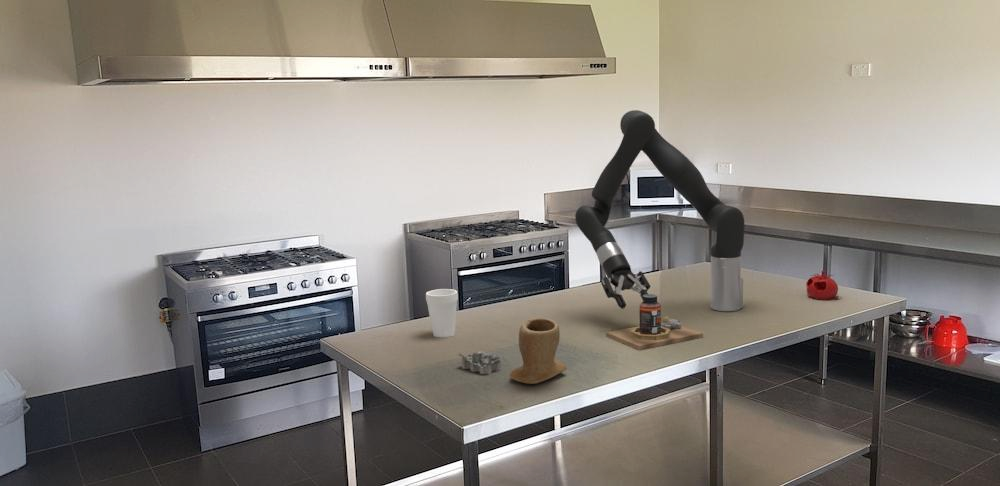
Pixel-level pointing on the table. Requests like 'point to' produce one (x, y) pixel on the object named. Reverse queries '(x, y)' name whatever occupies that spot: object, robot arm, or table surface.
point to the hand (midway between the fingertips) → (636, 305)
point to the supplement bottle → (650, 315)
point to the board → (669, 335)
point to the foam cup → (442, 311)
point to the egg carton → (482, 362)
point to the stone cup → (538, 351)
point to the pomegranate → (821, 287)
